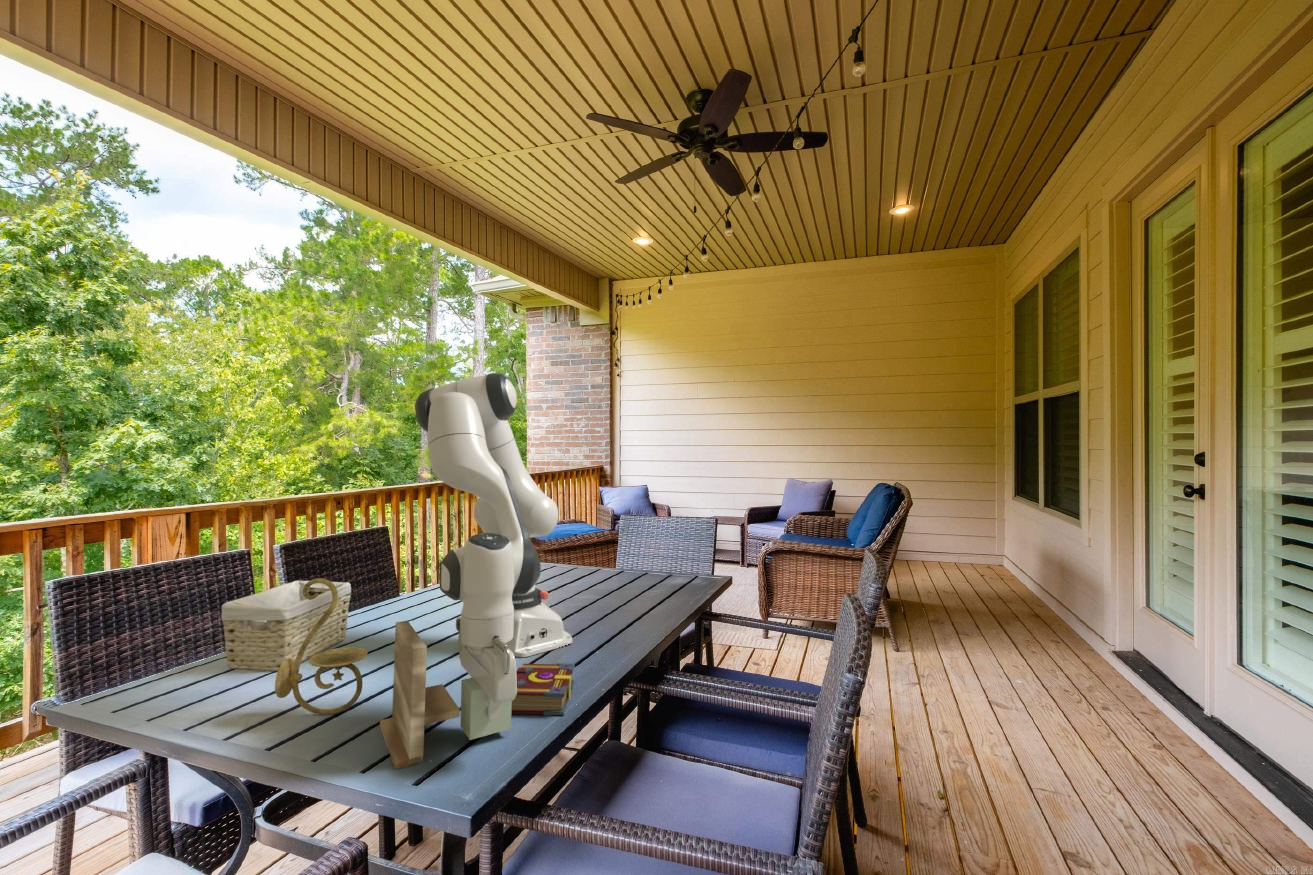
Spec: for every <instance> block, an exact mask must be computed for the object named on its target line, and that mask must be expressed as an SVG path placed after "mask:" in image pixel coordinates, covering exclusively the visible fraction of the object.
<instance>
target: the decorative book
mask: <svg viewBox="0 0 1313 875" xmlns="http://www.w3.org/2000/svg"><path fill="white" fill-rule="evenodd" d="M575 668H576V667H575V663H562V662H561V663H556V664H555V663H554V664H553V663H552V664H551V663H547V664H546V663H523V664H522V665H521V667H518V668H517V669H516V674H517V694H516V697H515V699H514V700H513V701H512V705H511V715H513V714H514V715H515V714H516V715H517V714H518V715H519V714H520V715H543V716H547V715H548V716H549V715H564V716H565V713H566V710H565V709H567V704H568V701H569V700H568V699H569V698H570V699H571V692H572V691H571V690H573V688H574V685H575V679H573V676H572V675H573V673H574V670H575ZM573 684H574V685H573ZM572 687H573V688H572ZM564 712H565V713H564Z"/></svg>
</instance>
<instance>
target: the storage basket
mask: <svg viewBox="0 0 1313 875" xmlns="http://www.w3.org/2000/svg"><path fill="white" fill-rule="evenodd" d="M309 581H310V580H294V581H292V582H288V583H284V584H281V585H278V586H274V587H272V588H269V589H266V590H263V591H260V592H257V593H253V594H249V595H247V596H244V597H240V598H236V599H233V600H230V601H226V602H224V603H223V604H222V605H221V616H220V617H221V620H222V625H223V631H224V633H223V635H224V641H225V645H224V646H225V651H226V652H225V653H226V665H227V667H228V668H229V669H236V670H238V669H240V670H250V671H251V670H253V671H263V672H265V671H267V672H268V671H271V672H278V670H279V668H280V666H281V664H282V663H283V661H284V660H286V659H288V658H292V659H294V660H296V657H297V654H298V652H299V650H300V648H301V646H302V644H303V642H304V640H305V639H306V637H307V635H308V634H309V633H310V631H311V630H312V629H313V627H314V626H315V625H316V624H317V623H318V621H319V620H320V619H321V618H322V616H323V615H324V614H325V613H326V611H327V610H328V609H329V607H330V605H331V603H332V592H331V590H330V588H329V587H328V586H327V585H325V584H322V583H316V584H313V585H311V586H310V587H309V589H308V593H309V592H311V593H316V592H317V593H318V596H317V597H316V598H315V599H312V600H309V599H306V598H305V597H304V596H303V588H304V586H305V585H306V583H308V582H309ZM331 582H332V583H333V584H334V585H335V587H336V589H337V591H338V602H337V605H336V607H335V609H334V611H333V612H332V613H331V615H330V616H329V617H328V619H327V620H326V621H325V622H324V623H323V625H322V626H321V627H320V628H319V630H318V631H317V632H316V633H315V635H314V636H313V638H312V639H311V641H310V642H309V644H308V646H307V648H306V650H305V652H304V654H303V657H302V660H301V663H303V662H304V661H306V660H309V659H310V657H312V656H313V655H315V654H317V653H320V652H323V651H326V650H328V648H330V647H333V645H335V644H337V643H340V642H341V641H342V640H344V639H345V638H347V636H346V633H347V626H348V625H347V624H348V618H349V617H348V616H349V606H350V601H351V594H352V586H351V583H350V582H348V581H347V582H341V581H340V582H339V581H331ZM319 593H320V594H319ZM309 594H310V593H309Z"/></svg>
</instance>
